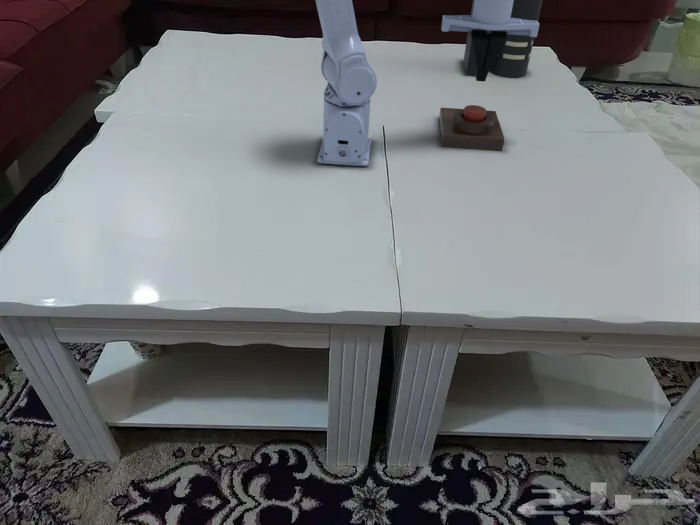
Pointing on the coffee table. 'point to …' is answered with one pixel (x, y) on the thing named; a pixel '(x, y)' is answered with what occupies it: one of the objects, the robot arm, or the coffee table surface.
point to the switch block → (470, 130)
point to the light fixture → (509, 44)
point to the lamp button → (474, 113)
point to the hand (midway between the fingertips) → (480, 79)
